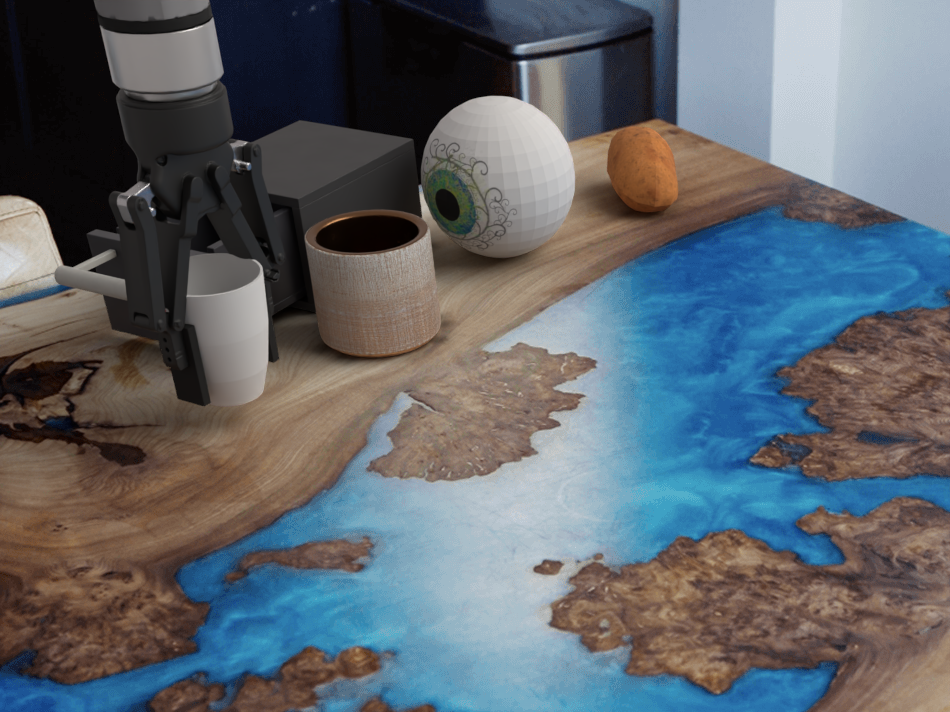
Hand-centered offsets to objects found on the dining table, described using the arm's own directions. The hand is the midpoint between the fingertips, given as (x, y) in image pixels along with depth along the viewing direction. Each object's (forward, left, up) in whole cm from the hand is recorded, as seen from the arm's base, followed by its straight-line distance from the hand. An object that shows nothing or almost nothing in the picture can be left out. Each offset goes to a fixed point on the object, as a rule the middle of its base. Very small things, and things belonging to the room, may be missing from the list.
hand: (229, 378), depth 113 cm
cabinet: (-14, +28, -4) cm, 31 cm away
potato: (+7, +58, -4) cm, 59 cm away
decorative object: (+1, +39, -4) cm, 39 cm away
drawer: (-14, +12, -3) cm, 18 cm away
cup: (0, 0, -1) cm, 1 cm away
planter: (+1, +18, -4) cm, 18 cm away
